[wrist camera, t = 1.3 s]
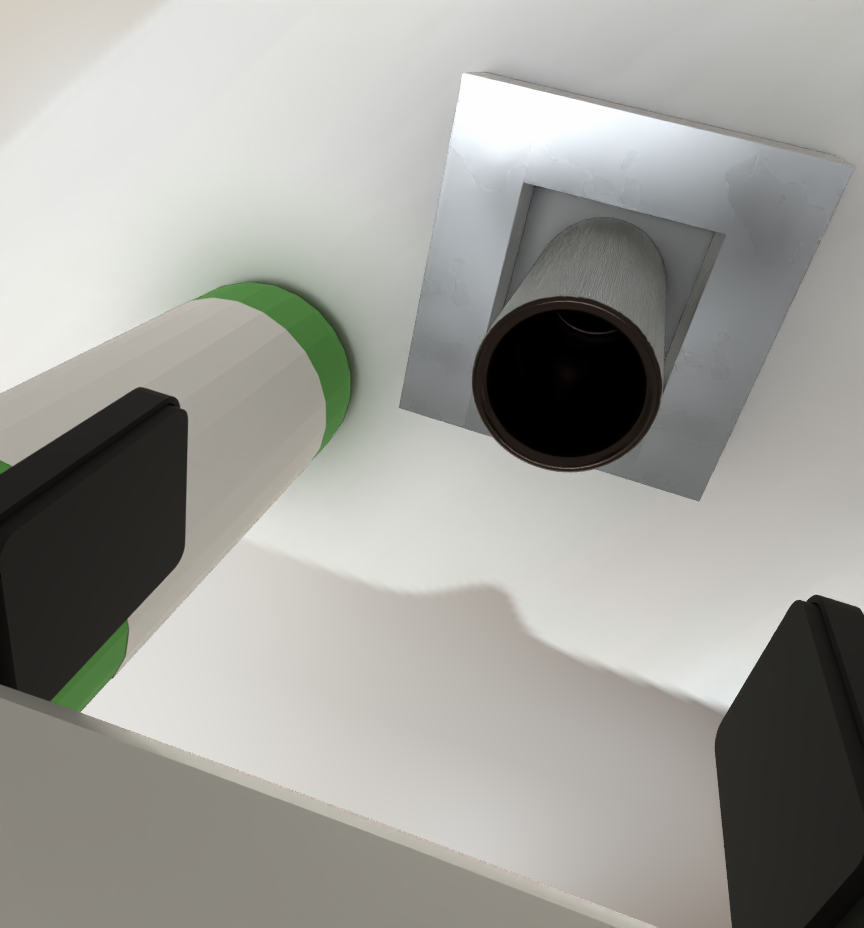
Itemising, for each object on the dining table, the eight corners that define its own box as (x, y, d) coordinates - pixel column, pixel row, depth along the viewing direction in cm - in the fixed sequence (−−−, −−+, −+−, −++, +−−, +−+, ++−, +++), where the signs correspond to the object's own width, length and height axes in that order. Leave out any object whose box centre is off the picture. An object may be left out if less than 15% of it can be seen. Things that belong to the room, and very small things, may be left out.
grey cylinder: (571, 193, 25) (518, 260, 16) (692, 252, 25) (703, 352, 16) (514, 310, 27) (442, 423, 19) (624, 364, 27) (602, 504, 19)
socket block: (834, 155, 22) (855, 166, 20) (696, 462, 28) (699, 501, 26) (485, 72, 24) (463, 72, 22) (422, 378, 30) (399, 407, 27)
